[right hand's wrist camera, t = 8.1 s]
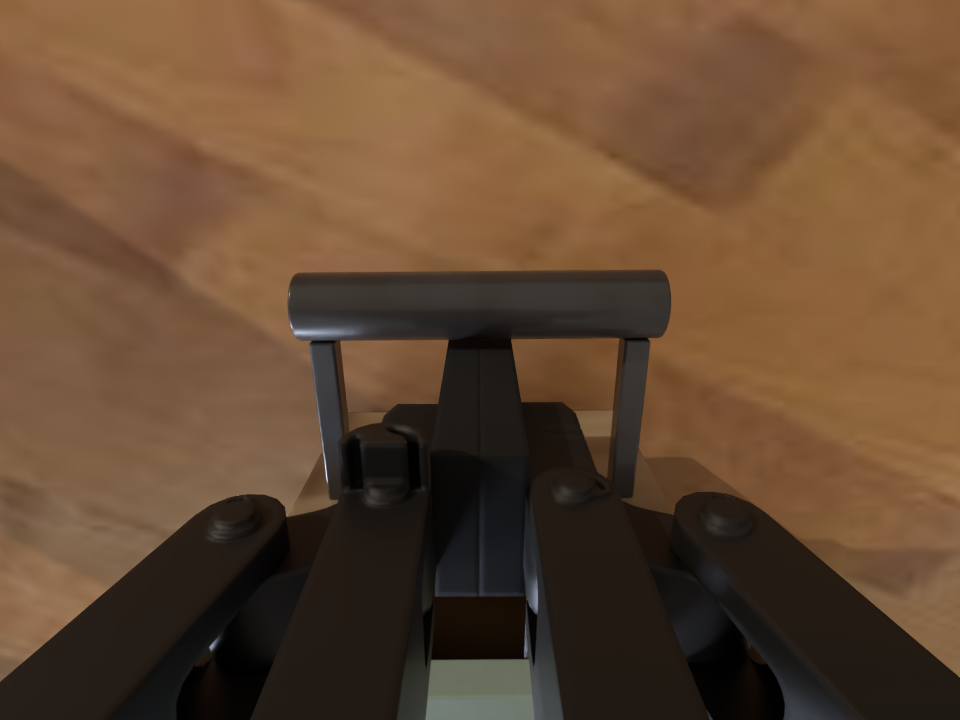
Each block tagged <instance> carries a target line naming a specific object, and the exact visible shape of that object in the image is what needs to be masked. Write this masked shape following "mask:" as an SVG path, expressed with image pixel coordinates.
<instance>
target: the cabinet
mask: <svg viewBox="0 0 960 720" xmlns="http://www.w3.org/2000/svg"><path fill="white" fill-rule="evenodd" d="M426 720H534V709H533V698H532V687H531V677H530V666H529V659H476V660H431V667H430V678H429V688H428V699H427V710H426Z"/></svg>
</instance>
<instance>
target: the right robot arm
mask: <svg viewBox="0 0 960 720" xmlns="http://www.w3.org/2000/svg"><path fill="white" fill-rule="evenodd" d="M337 449H338V458H339V467H340V476H341V485H342V493H341V495H340V497H339V500H338V502H337V504H334V505H332V506H330V507H327V508H324V509H321V510H317V511H313V512H309V513H304V514H299V515H294V516H289V517H286V512H285V507H284V506H283V505H282V504H281V503H280V502H279V500H278V499H275V498H272V497H269V496H266V495H252V494H247V495H239V496H234V497H230V498H227V499H225V500H222V501H220V502H217V503H215V504H212V505H210V506H208V507H207V508H205V509H204V510H202V511H201V512H199V513H198V514H196V515H195V516H194V517H192V518H191V519H190V520H189V521H188V522H187V523H185V524H184V525H183V526H182V527H181V528H180V529H178V530H177V531H176V532H175V533H174V534H173V535H171V536H170V537H169V538H168V539H167V540H166V541H164V542H163V543H162V544H161V545H160V546H159V547H157V548H156V549H155V550H154V551H153V552H152V553H150V554H149V555H148V556H147V557H146V558H145V559H143V560H142V561H141V562H140V563H139V564H138V565H136V566H135V567H134V568H133V569H132V570H131V571H129V572H128V573H127V574H126V575H125V576H124V577H122V578H121V579H120V580H119V581H118V582H117V583H115V584H114V585H113V586H112V587H111V588H110V589H108V590H107V591H106V592H105V593H104V594H103V595H101V596H100V597H99V598H98V599H97V600H95V601H94V602H93V603H92V604H91V605H90V606H88V607H87V608H86V609H85V610H84V611H83V612H81V613H80V614H79V615H78V616H77V617H76V618H74V619H73V620H72V621H71V622H70V623H69V624H67V625H66V626H65V627H64V628H63V629H62V630H60V631H59V632H58V633H57V634H56V635H55V636H53V637H52V638H51V639H50V640H49V641H48V642H46V643H45V644H44V645H43V646H42V647H41V648H39V649H38V650H37V651H36V652H35V653H34V654H32V655H31V656H30V657H29V658H28V659H27V660H25V661H24V662H23V663H22V664H21V665H20V666H18V667H17V668H16V669H15V670H14V671H13V672H11V673H10V674H9V675H8V676H7V677H6V678H4V679H3V680H2V681H1V682H0V720H426V710H427V699H428V688H429V678H430V667H431V656H432V645H433V635H434V624H435V621H434V589H435V596H525V587H526V621H525V645H524V658H529V666H530V677H531V687H532V698H533V709H534V720H960V677H958V676H957V675H956V674H955V673H954V672H953V671H951V670H950V669H949V668H948V667H947V666H945V665H944V664H943V663H942V662H941V661H940V660H938V659H937V658H936V657H935V656H934V655H932V654H931V653H930V652H929V651H928V650H927V649H925V648H924V647H923V646H922V645H921V644H920V643H918V642H917V641H916V640H915V639H914V638H912V637H911V636H910V635H909V634H908V633H907V632H905V631H904V630H903V629H902V628H901V627H900V626H898V625H897V624H896V623H895V622H894V621H892V620H891V619H890V618H889V617H888V616H887V615H885V614H884V613H883V612H882V611H881V610H879V609H878V608H877V607H876V606H875V605H874V604H872V603H871V602H870V601H869V600H868V599H867V598H865V597H864V596H863V595H862V594H861V593H859V592H858V591H857V590H856V589H855V588H854V587H852V586H851V585H850V584H849V583H848V582H846V581H845V580H844V579H843V578H842V577H841V576H839V575H838V574H837V573H836V572H835V571H834V570H832V569H831V568H830V567H829V566H828V565H826V564H825V563H824V562H823V561H822V560H821V559H819V558H818V557H817V556H816V555H815V554H814V553H812V552H811V551H810V550H809V549H808V548H806V547H805V546H804V545H803V544H802V543H801V542H799V541H798V540H797V539H796V538H795V537H793V536H792V535H791V534H790V533H789V532H788V531H786V530H785V529H784V528H783V527H782V526H781V525H779V524H778V523H777V522H776V521H775V520H773V519H772V518H771V517H770V516H769V515H768V514H766V513H765V512H764V511H762V510H761V509H759V508H758V507H756V506H754V505H753V504H751V503H750V502H747V501H745V500H742V499H740V498H737V497H735V496H732V495H728V494H724V493H723V494H722V493H717V492H696V493H693V494H690V495H687V496H683V497H682V498H681V499H680V500H679V501H678V502H677V504H676V505H675V512H674V515H672V514H668V513H663V512H658V511H653V510H648V509H644V508H641V507H637V506H633V505H631V504H629V503H627V502H624V501H622V499H621V497H620V494H619V492H618V490H617V488H616V487H615V486H614V484H613V483H612V482H611V481H610V480H609V479H607V478H606V477H604V476H602V475H601V474H599V473H598V472H597V470H596V467H595V464H594V462H593V459H592V456H591V453H590V451H589V448H588V445H587V442H586V440H585V439H584V434H583V432H582V429H581V426H580V423H579V421H578V418H577V415H576V413H575V412H573V411H572V410H571V409H570V408H568V407H567V406H566V405H565V404H563V403H562V402H521V398H520V392H519V386H518V380H517V374H516V368H515V362H514V355H513V349H512V343H511V339H472V340H449V343H448V349H447V355H446V361H445V367H444V373H443V379H442V385H441V391H440V397H439V403H438V404H397V405H396V406H395V407H394V408H392V409H391V410H390V411H389V412H388V413H386V414H385V415H384V417H383V420H382V423H373V424H369V425H365V426H362V427H358V428H356V429H354V430H352V431H350V432H348V433H347V434H345V435H344V436H343V437H342V438H341V439H340V440H339V441H338V443H337Z"/></svg>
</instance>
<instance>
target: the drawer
mask: <svg viewBox="0 0 960 720" xmlns="http://www.w3.org/2000/svg"><path fill="white" fill-rule="evenodd" d="M670 311H671V292H670V285H669V281H668V278H667V276H666V274H665V273H664V272H663V271H661V270H564V271H443V272H322V273H297V274H295V275H294V276H293V277H292V279H291V282H290V286H289V291H288V315H289V321H290V325H291V329H292V331H293V334H294V335H295V337H296V338H297V339H298V340H301V341H311V342H310V344H309V348H310V355H311V363H312V371H313V379H314V386H315V394H316V402H317V410H318V417H319V425H320V433H321V441H322V448H323V451H322V453H321V455H320V457H319V459H318V461H317V463H316V465H315V467H314V468H313V470H312V472H311V474H310V476H309V478H308V480H307V482H306V484H305V486H304V488H303V489H302V491H301V493H300V495H299V497H298V499H297V501H296V503H295V505H294V507H293V509H292V511H291V512H290V514H289V516H294V515H299V514H304V513H309V512H313V511H317V510H321V509H324V508H327V507H330V506H332V505H334V504H337V502H338V500H339V497H340V495H341V493H342V485H341V476H340V467H339V458H338V449H337V443H338V441H339V440H340V439H341V438H342V437H343V436H344V435H345V434H347V433H348V432H350V431H352V430H354V429H356V428H358V427H362V426H365V425H369V424H373V423H382V420H383V417H384V415H385V414H386V413H388V412H356V413H348V411H347V402H346V392H345V383H344V374H343V364H342V355H341V346H340V341H350V340H472V339H594V338H619V349H618V360H617V371H616V382H615V393H614V404H613V410H603V411H573V412H575V413H576V415H577V418H578V421H579V423H580V426H581V429H582V432H583V434H584V439H585V440H586V442H587V445H588V448H589V451H590V453H591V456H592V459H593V462H594V464H595V467H596V470H597V472H598V473H599V474H601V475H602V476H604V477H606V478H607V479H609V480H610V481H611V482H612V483H613V484H614V486H615V487H616V488H617V490H618V492H619V494H620V497H621V499H622V501H624V502H627V503H629V504H631V505H633V506H637V507H641V508H644V509H648V510H653V511H658V512H663V513H668V514H672V515H674V513H673V511H672V509H671V507H670V505H669V503H668V501H667V500H666V498H665V496H664V494H663V492H662V490H661V489H660V487H659V485H658V483H657V481H656V479H655V477H654V476H653V474H652V472H651V470H650V468H649V466H648V465H647V463H646V461H645V459H644V457H643V455H642V453H641V452H640V450H639V439H640V430H641V421H642V412H643V403H644V394H645V385H646V376H647V367H648V358H649V350H650V340H649V339H648V338H659V337H661V336H663V334H664V333H665V331H666V329H667V326H668V323H669V318H670ZM289 516H288V517H289ZM434 621H435V624H434V635H433V645H432V656H431V660H476V659H529V658H524V645H525V621H526V587H525V596H435V589H434Z"/></svg>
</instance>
